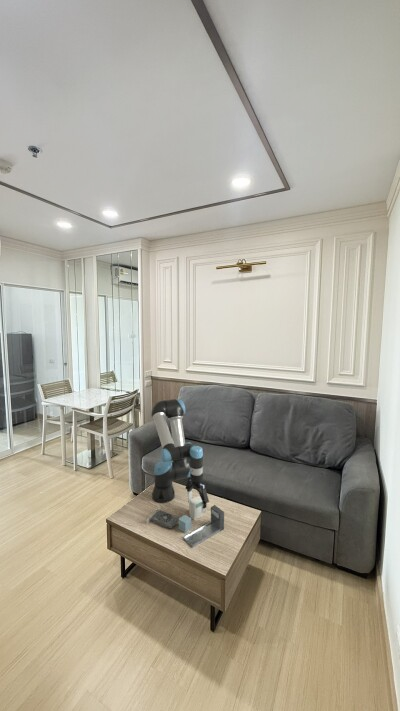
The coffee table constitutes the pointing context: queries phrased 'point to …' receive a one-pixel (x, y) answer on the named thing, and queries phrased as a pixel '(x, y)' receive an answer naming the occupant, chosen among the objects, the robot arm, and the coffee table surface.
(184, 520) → the block
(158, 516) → the graphics card
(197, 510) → the block
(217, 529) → the rail
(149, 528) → the coffee table surface
